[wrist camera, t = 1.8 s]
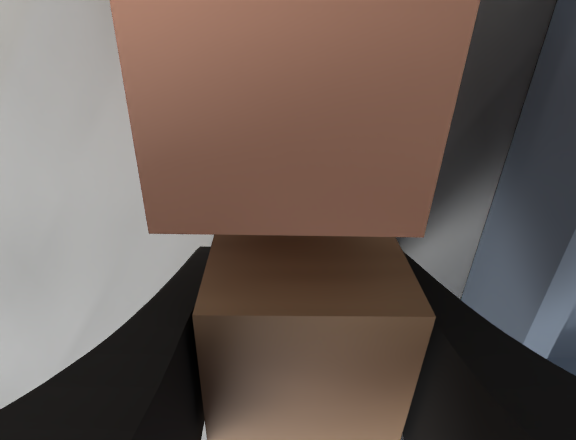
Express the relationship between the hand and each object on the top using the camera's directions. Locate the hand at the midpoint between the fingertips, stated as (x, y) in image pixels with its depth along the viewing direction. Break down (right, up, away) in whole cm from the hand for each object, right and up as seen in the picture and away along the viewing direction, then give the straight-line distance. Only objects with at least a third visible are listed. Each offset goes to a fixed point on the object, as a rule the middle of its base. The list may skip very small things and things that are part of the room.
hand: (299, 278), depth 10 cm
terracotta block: (0, +6, -1) cm, 6 cm away
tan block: (0, +1, +1) cm, 1 cm away
